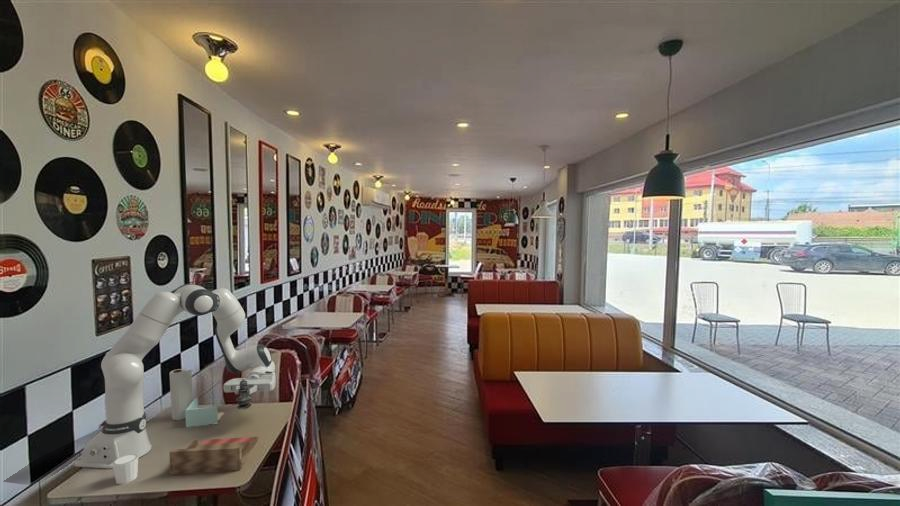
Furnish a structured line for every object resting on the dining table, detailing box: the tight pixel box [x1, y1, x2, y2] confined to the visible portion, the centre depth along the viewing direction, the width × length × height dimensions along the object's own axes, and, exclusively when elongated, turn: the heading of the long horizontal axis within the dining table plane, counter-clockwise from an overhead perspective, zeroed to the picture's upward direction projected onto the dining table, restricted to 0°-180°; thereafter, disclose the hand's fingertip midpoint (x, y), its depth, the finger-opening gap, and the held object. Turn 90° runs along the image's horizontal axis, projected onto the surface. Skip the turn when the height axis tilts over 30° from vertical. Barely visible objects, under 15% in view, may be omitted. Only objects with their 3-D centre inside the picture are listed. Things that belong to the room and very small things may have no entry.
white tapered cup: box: [112, 454, 139, 485], centre depth 137 cm, size 7×7×7 cm
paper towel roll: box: [168, 368, 194, 421], centre depth 179 cm, size 7×6×21 cm
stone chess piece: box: [235, 379, 253, 410], centre depth 168 cm, size 6×6×12 cm
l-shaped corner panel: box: [184, 397, 219, 428], centre depth 178 cm, size 12×12×8 cm
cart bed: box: [169, 436, 259, 475], centre depth 150 cm, size 23×21×8 cm
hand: (242, 392), depth 167 cm, fingers closed on stone chess piece, 3 cm apart
